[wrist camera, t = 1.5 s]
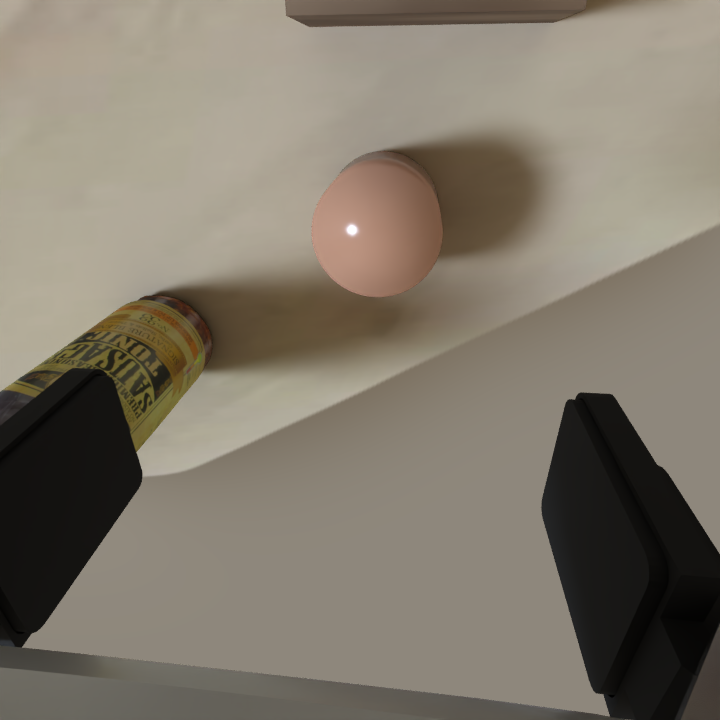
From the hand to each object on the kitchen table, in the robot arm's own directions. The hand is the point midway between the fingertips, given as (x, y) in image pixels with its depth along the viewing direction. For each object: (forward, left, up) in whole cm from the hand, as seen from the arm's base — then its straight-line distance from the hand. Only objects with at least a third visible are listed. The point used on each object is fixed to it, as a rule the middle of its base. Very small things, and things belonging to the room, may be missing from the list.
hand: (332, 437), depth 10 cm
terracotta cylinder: (0, 0, -19) cm, 19 cm away
